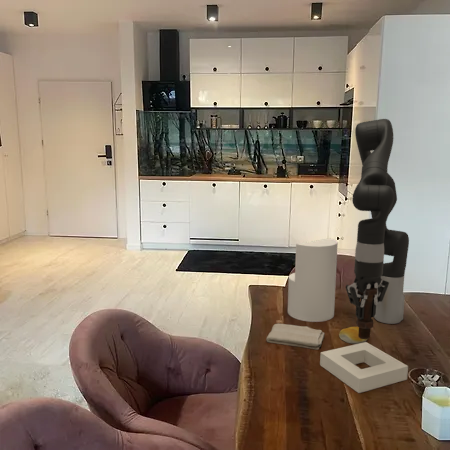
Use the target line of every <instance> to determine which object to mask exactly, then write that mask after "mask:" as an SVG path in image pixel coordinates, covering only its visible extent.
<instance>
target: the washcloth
mask: <svg viewBox="0 0 450 450" xmlns="http://www.w3.org/2000/svg"><path fill="white" fill-rule="evenodd" d="M324 338H325V332H323V331H322V330H321V329H314V328H312V327H310V326H302V325H301V326H300V325H296V324H295V325H294V324H285V323H275V324H273V325H272V327H271V331H270V332H269V333H268V335H267V336H266V343H271V344H277V345H285V346H292V347H297V348H298V347H299V348H304V349H311V350H316V351H317V350H319V349H320V348H321V346H322V344H323V343H322V342H323V341H324Z"/></svg>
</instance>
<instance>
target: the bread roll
mask: <svg viewBox="0 0 450 450" xmlns="http://www.w3.org/2000/svg"><path fill="white" fill-rule="evenodd" d="M358 334H359V327H358V326H349V327H347V328H343V329H341V330H340V332H339V334H338V336H339V338H340V340H342V341H344V342H345V343H348V344H352V345H355V344H359V343H364V342H367V341H368V339H360V338H359V337H358Z"/></svg>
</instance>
